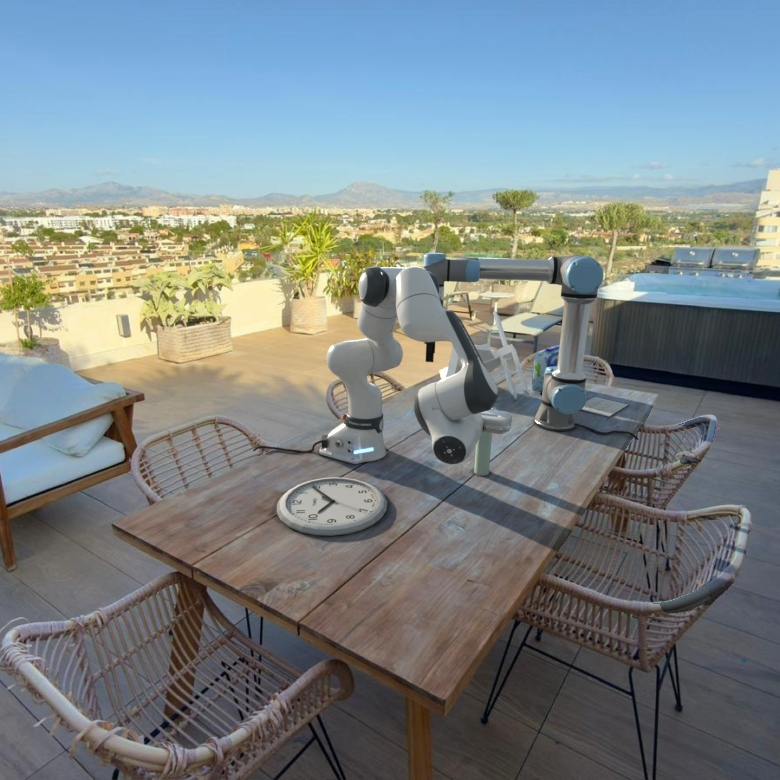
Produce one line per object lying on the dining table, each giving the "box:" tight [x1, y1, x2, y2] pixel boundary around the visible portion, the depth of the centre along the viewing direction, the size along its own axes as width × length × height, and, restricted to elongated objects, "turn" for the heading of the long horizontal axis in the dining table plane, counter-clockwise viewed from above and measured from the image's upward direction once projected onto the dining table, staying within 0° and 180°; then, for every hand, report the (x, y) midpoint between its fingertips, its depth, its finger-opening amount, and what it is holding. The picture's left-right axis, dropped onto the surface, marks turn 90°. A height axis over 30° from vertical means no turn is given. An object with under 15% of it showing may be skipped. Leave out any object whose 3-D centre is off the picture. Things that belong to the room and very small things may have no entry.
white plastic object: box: [438, 310, 531, 400], centre depth 245 cm, size 37×45×31 cm
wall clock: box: [276, 476, 388, 537], centre depth 142 cm, size 30×2×30 cm
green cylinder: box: [473, 432, 493, 476], centre depth 161 cm, size 4×4×19 cm
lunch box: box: [531, 344, 560, 393], centre depth 245 cm, size 26×11×21 cm, turn 134°
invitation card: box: [580, 396, 629, 418], centre depth 226 cm, size 21×1×15 cm
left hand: (475, 407), depth 137 cm, fingers open, 8 cm apart
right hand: (430, 357), depth 190 cm, fingers open, 13 cm apart
